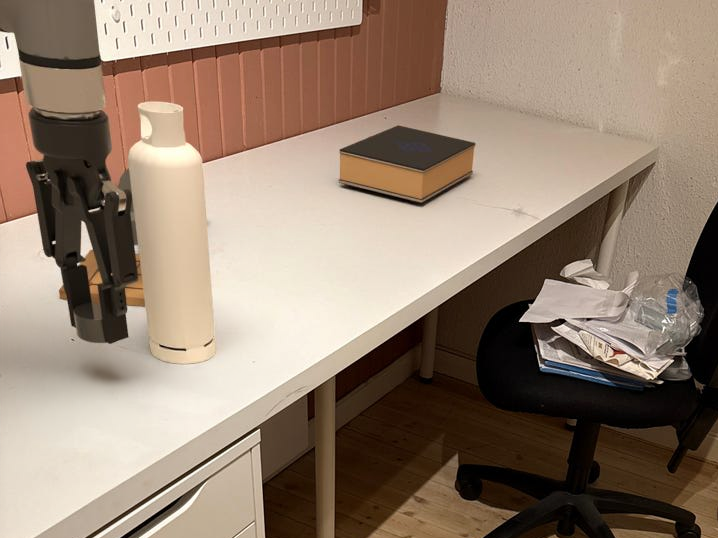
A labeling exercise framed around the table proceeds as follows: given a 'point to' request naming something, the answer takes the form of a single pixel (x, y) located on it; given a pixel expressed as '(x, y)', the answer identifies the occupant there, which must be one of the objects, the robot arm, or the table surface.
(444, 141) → the book
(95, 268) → the board
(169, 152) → the bottle
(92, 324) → the cylinder
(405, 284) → the table surface
